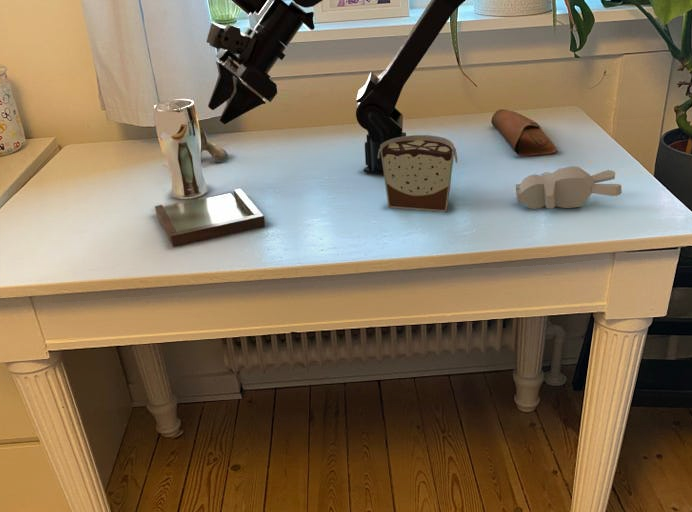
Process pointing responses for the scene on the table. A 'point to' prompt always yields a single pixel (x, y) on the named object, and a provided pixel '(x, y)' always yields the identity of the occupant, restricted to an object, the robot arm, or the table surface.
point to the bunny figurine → (564, 188)
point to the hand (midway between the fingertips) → (215, 115)
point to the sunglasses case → (522, 134)
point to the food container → (418, 171)
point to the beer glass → (181, 146)
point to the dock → (209, 218)
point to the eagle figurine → (212, 148)
